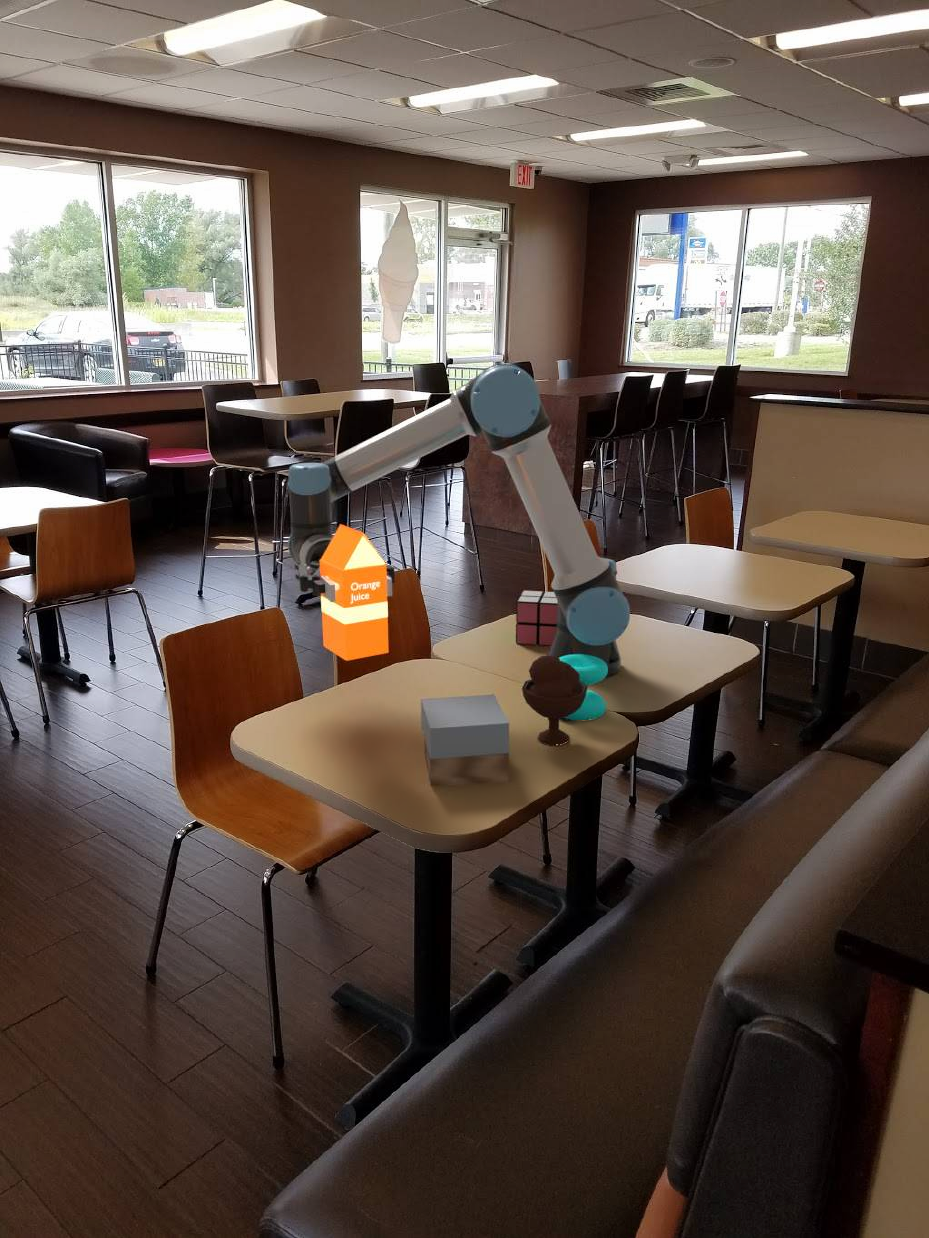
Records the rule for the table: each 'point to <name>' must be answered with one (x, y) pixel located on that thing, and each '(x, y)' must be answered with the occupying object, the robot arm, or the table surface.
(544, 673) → the ice cream bowl
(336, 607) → the orange juice
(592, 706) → the donuts
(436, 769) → the lower block
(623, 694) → the table surface
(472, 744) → the upper block
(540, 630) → the puzzle cube
